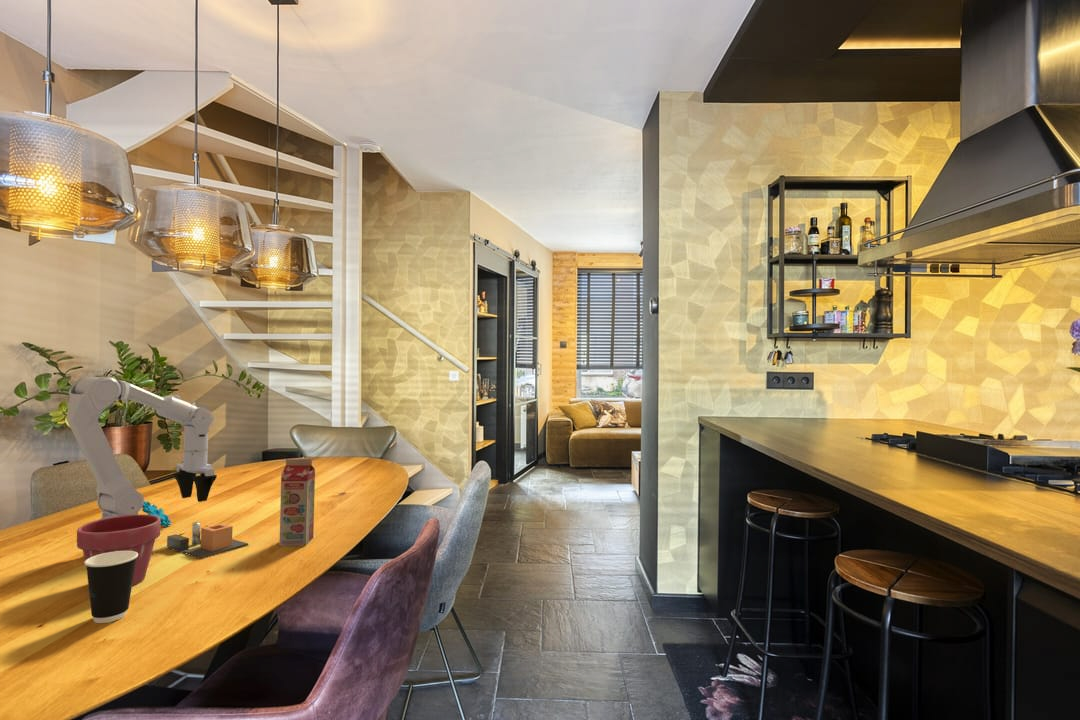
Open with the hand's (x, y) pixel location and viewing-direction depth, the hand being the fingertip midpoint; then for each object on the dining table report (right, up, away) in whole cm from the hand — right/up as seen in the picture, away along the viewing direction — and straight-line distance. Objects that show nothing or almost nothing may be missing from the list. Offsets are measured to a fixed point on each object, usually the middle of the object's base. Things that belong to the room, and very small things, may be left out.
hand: (194, 499), depth 154 cm
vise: (+6, -9, -9) cm, 15 cm away
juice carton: (+31, -10, -6) cm, 33 cm away
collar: (+14, -9, -13) cm, 21 cm away
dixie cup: (+16, -9, -51) cm, 55 cm away
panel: (+13, -10, -13) cm, 21 cm away
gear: (-15, -10, +6) cm, 19 cm away
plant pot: (+6, -9, -35) cm, 37 cm away
